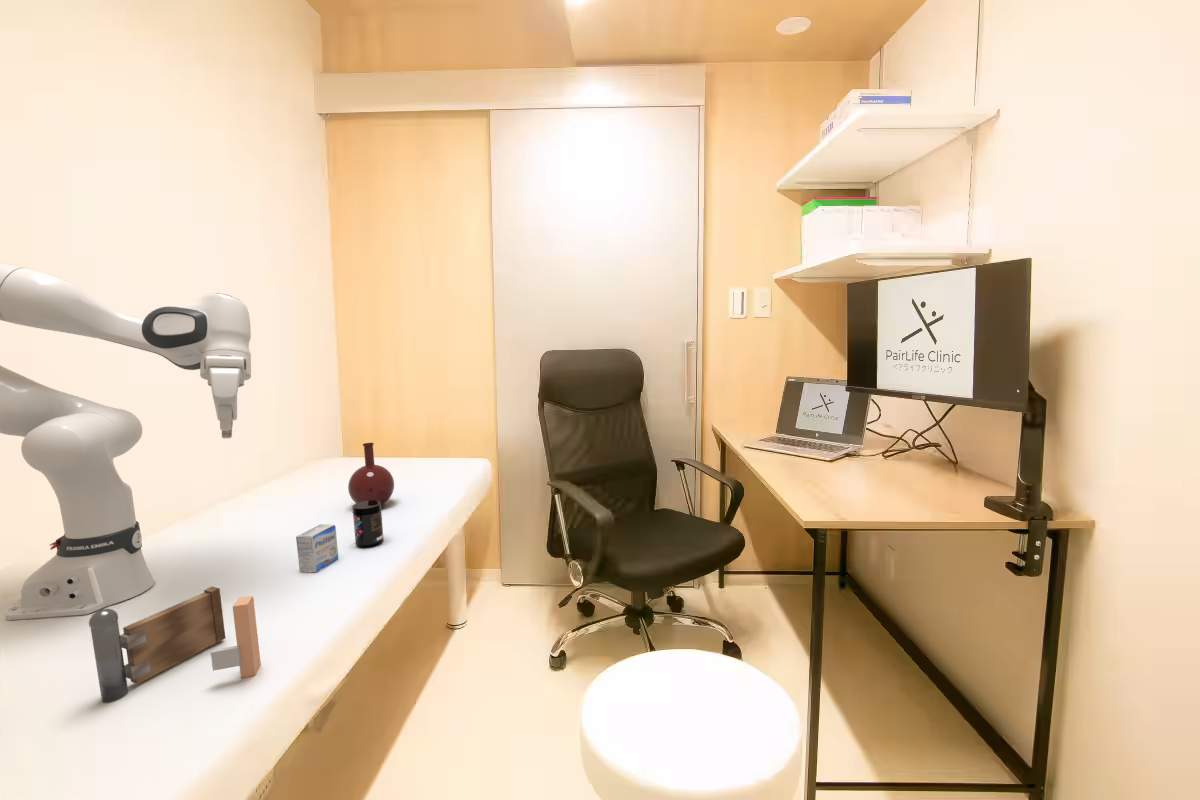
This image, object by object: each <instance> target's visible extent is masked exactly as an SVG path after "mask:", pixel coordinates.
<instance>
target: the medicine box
mask: <svg viewBox="0 0 1200 800" xmlns="http://www.w3.org/2000/svg"><path fill="white" fill-rule="evenodd" d="M336 527H337V526H336V525H335V524H330V523H327V524H326V523H324V524H323V523H322V524H321V523H320V524H318V525H316V526H314V527H312V528H310V529H308V530H307V531H304V532H302V533H301V534H299V535H296V536H295V538H296V539H295V540H296V541H295V542H296V550H297V551H296V552H297V558H298V567H299V568H298V569H299V571H300V570H302V571H311V572H310V573H315V572H317V571H318V572H320V571H321V570H323V569H324V568H326V567H327V565H328V564H329V565H330V563H331V564H332V563H333V561H334V562H335V561H337V560H338V559H339V550H338V540H337V529H336ZM329 565H328V566H329ZM325 566H326V567H325ZM322 568H323V569H322ZM320 569H321V570H320ZM319 570H320V571H319ZM318 572H317V573H318Z"/></svg>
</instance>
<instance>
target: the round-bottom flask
mask: <svg viewBox="0 0 1200 800" xmlns="http://www.w3.org/2000/svg"><path fill="white" fill-rule="evenodd" d="M362 446H363V453H364V466H361V467H359V468H358V469H357V470H355V471H354V472H353V473H352V475H351V476H350V478H349V480H348V486H347V488H348V489H347V490H348V494H349V497H350V498H351V500H352V501H353V502H354V504H356V503H359V502H363V501H370V500H375V501H380V502H381V506H382V505H384V504H385V503H387V502H388V501H389V500H390V498H391V497H392V495H393V493H394V489H395V480H394V477H393V475H392V473H391V472H390V471H389V470H388V469H387V468H386V467H384V466H382V465H378V464H375V456H374V442H365V443H362Z"/></svg>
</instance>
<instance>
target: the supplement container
mask: <svg viewBox="0 0 1200 800" xmlns="http://www.w3.org/2000/svg"><path fill="white" fill-rule="evenodd" d="M351 507H352V518H353V519H352V520H353V529H354V541H355V546H356V547H358V548H360V549H367V548H368V549H370V548H375V547H377V546H379V545H381V544H382V543H383V541H384V529H383V527H384V526H383V517H382V516H383V515H382V505H381V502H380V501H375V500H370V501H363V502H359V503H354V504H353V505H352V506H351Z"/></svg>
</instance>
